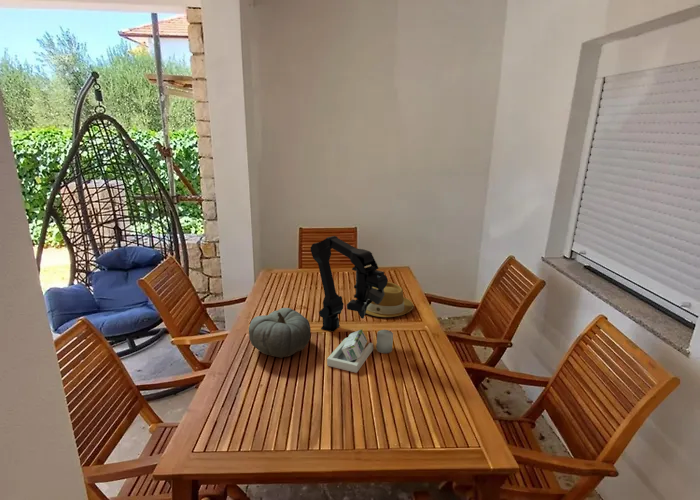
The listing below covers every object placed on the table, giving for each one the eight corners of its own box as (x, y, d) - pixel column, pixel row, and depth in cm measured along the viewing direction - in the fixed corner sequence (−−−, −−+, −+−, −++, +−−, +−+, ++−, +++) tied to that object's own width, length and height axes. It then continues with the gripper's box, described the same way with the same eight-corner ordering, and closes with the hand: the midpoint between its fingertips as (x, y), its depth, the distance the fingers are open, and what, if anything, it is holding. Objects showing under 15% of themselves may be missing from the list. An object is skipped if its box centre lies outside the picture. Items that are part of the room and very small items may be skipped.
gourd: (233, 352, 159) (238, 309, 156) (267, 333, 182) (272, 295, 179) (290, 371, 151) (296, 327, 148) (318, 349, 174) (324, 310, 171)
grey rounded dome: (374, 350, 165) (374, 335, 163) (379, 343, 171) (380, 328, 169) (389, 354, 162) (390, 338, 160) (394, 347, 168) (395, 331, 166)
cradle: (327, 365, 155) (327, 358, 154) (345, 344, 170) (345, 337, 169) (356, 372, 150) (356, 365, 149) (372, 350, 166) (373, 343, 165)
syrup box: (367, 341, 167) (361, 357, 153) (355, 345, 169) (347, 362, 155) (361, 328, 167) (354, 344, 153) (349, 333, 168) (340, 349, 154)
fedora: (368, 293, 223) (368, 272, 220) (420, 303, 211) (421, 281, 207) (346, 312, 200) (346, 289, 197) (403, 324, 188) (404, 300, 184)
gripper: (373, 294, 152) (372, 332, 157) (389, 277, 168) (388, 312, 173) (346, 289, 156) (346, 326, 161) (364, 273, 173) (363, 307, 177)
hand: (362, 318), depth 168 cm, fingers closed
